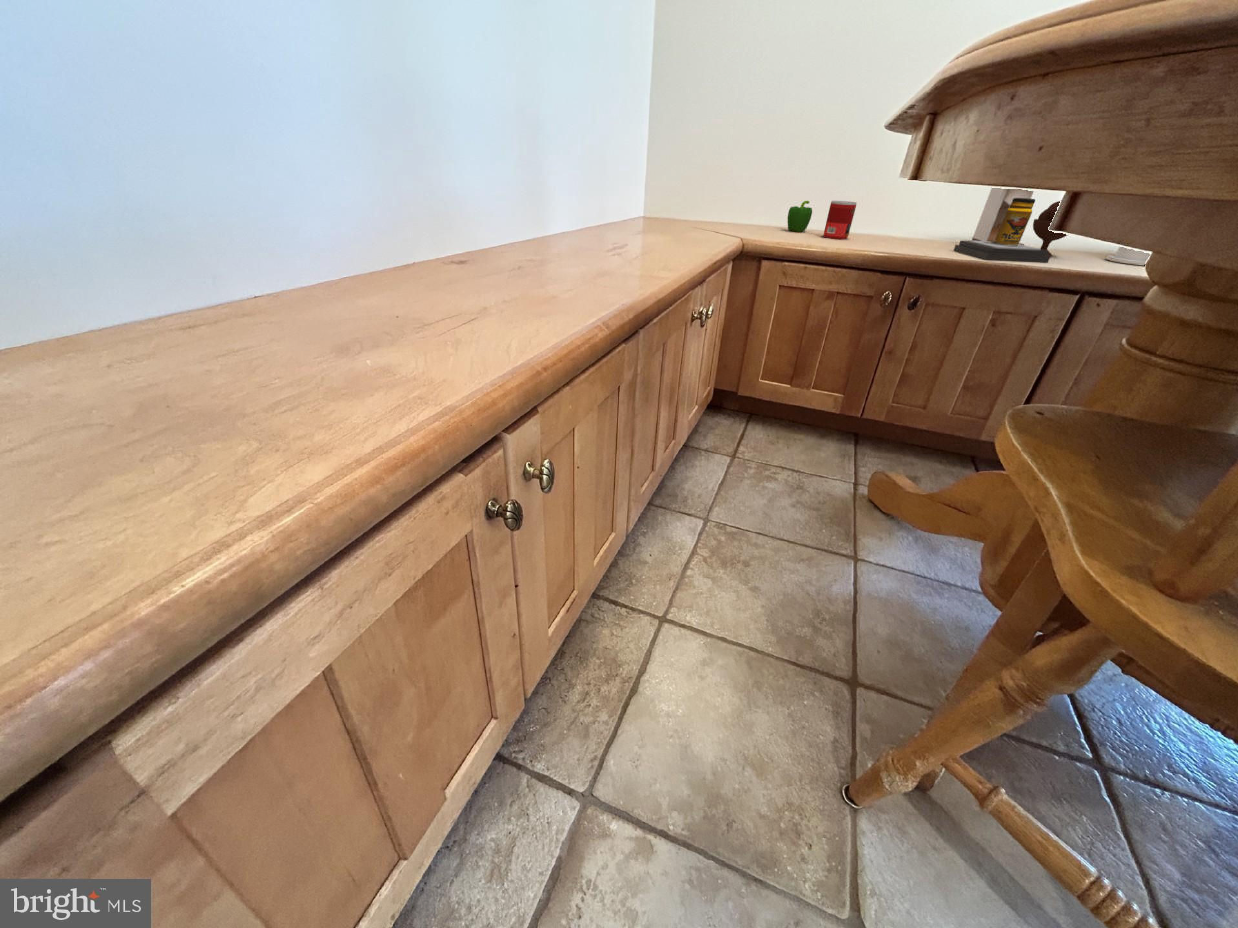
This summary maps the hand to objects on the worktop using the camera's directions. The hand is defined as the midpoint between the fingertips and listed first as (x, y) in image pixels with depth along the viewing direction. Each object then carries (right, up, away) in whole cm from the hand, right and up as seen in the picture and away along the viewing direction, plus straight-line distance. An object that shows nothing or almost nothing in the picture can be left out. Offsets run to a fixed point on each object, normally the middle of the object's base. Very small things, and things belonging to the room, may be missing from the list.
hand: (1085, 150), depth 134 cm
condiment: (-12, -20, +13) cm, 27 cm away
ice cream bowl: (+5, -20, +21) cm, 29 cm away
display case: (-1, -13, +31) cm, 34 cm away
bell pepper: (-61, 0, +48) cm, 77 cm away
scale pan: (-13, -21, +13) cm, 28 cm away
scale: (-13, -23, +14) cm, 30 cm away
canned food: (-52, -7, +36) cm, 64 cm away
